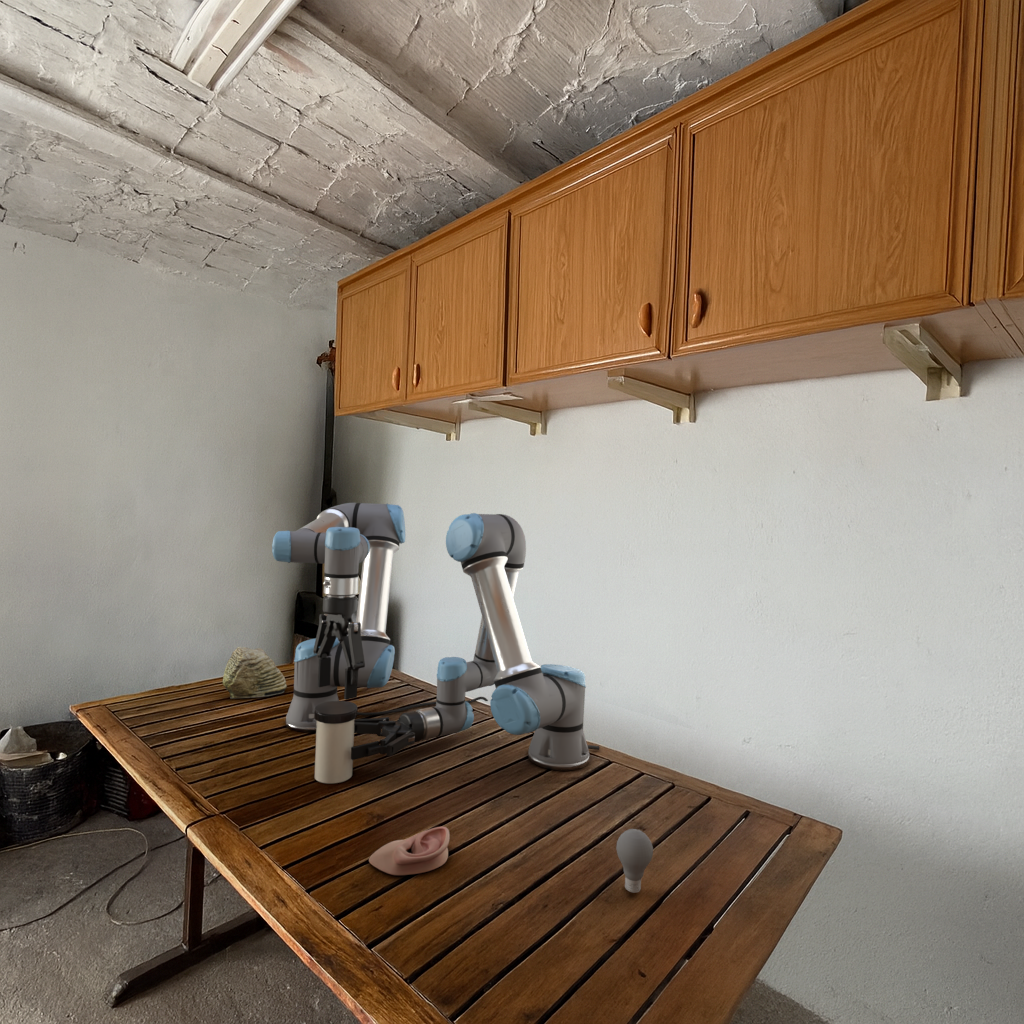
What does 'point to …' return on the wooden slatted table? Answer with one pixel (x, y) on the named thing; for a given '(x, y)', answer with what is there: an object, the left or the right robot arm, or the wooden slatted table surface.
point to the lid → (335, 712)
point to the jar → (334, 752)
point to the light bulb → (634, 857)
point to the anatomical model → (413, 853)
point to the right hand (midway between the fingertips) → (338, 743)
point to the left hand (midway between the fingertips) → (336, 691)
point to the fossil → (252, 674)
